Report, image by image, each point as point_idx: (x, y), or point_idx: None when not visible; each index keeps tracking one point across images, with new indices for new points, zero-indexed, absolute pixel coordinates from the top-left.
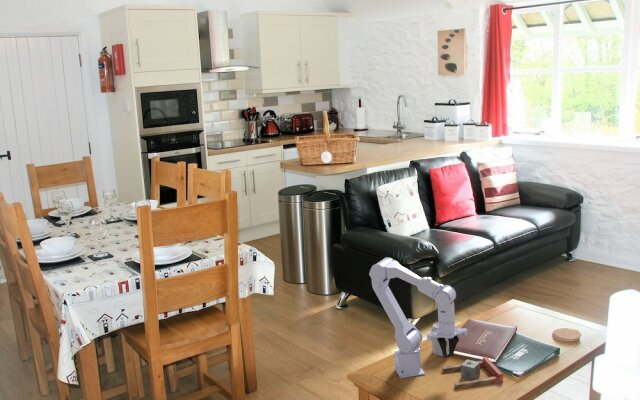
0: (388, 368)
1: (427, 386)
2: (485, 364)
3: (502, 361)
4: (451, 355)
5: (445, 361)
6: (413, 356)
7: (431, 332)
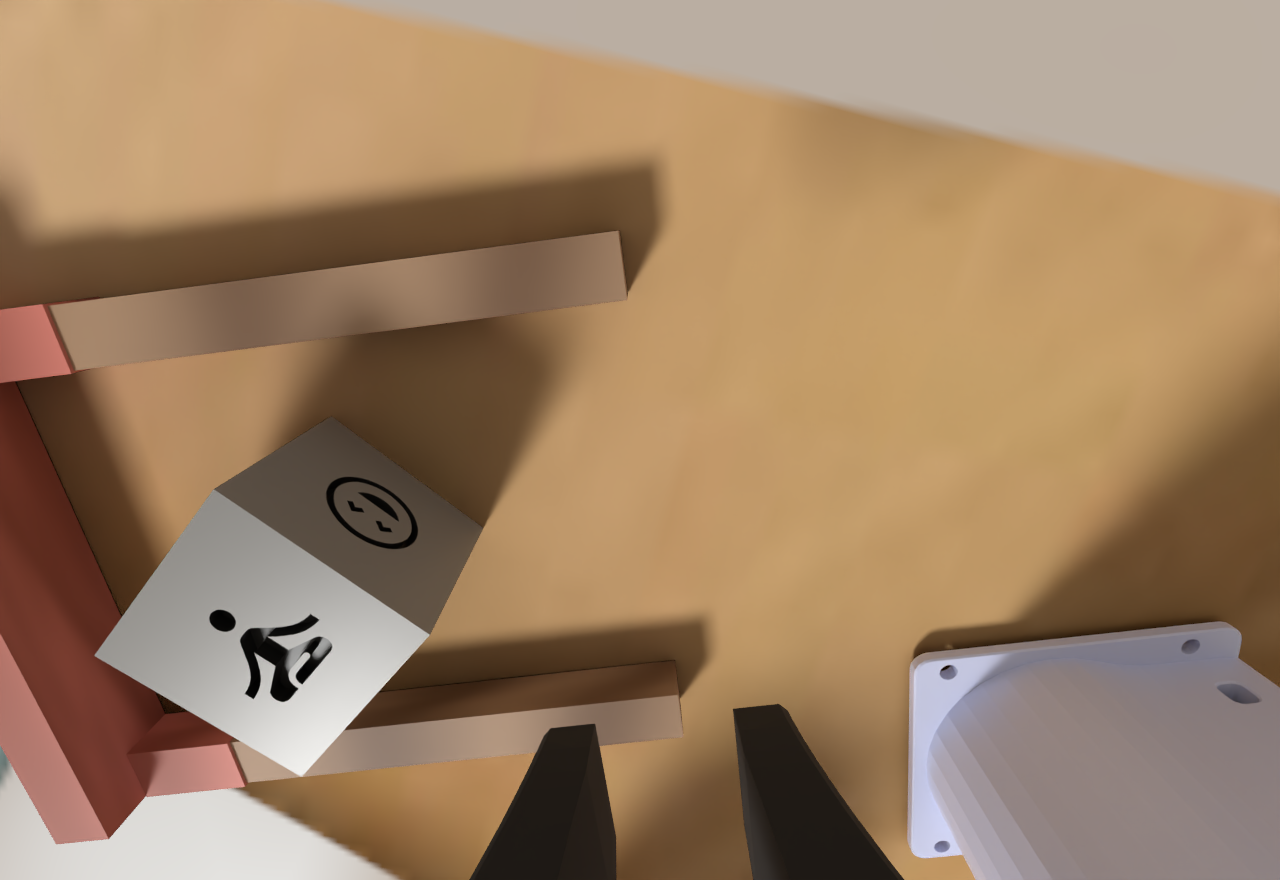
0: None
1: (981, 377)
2: (122, 719)
3: None
4: (591, 743)
5: None
6: None
7: None
